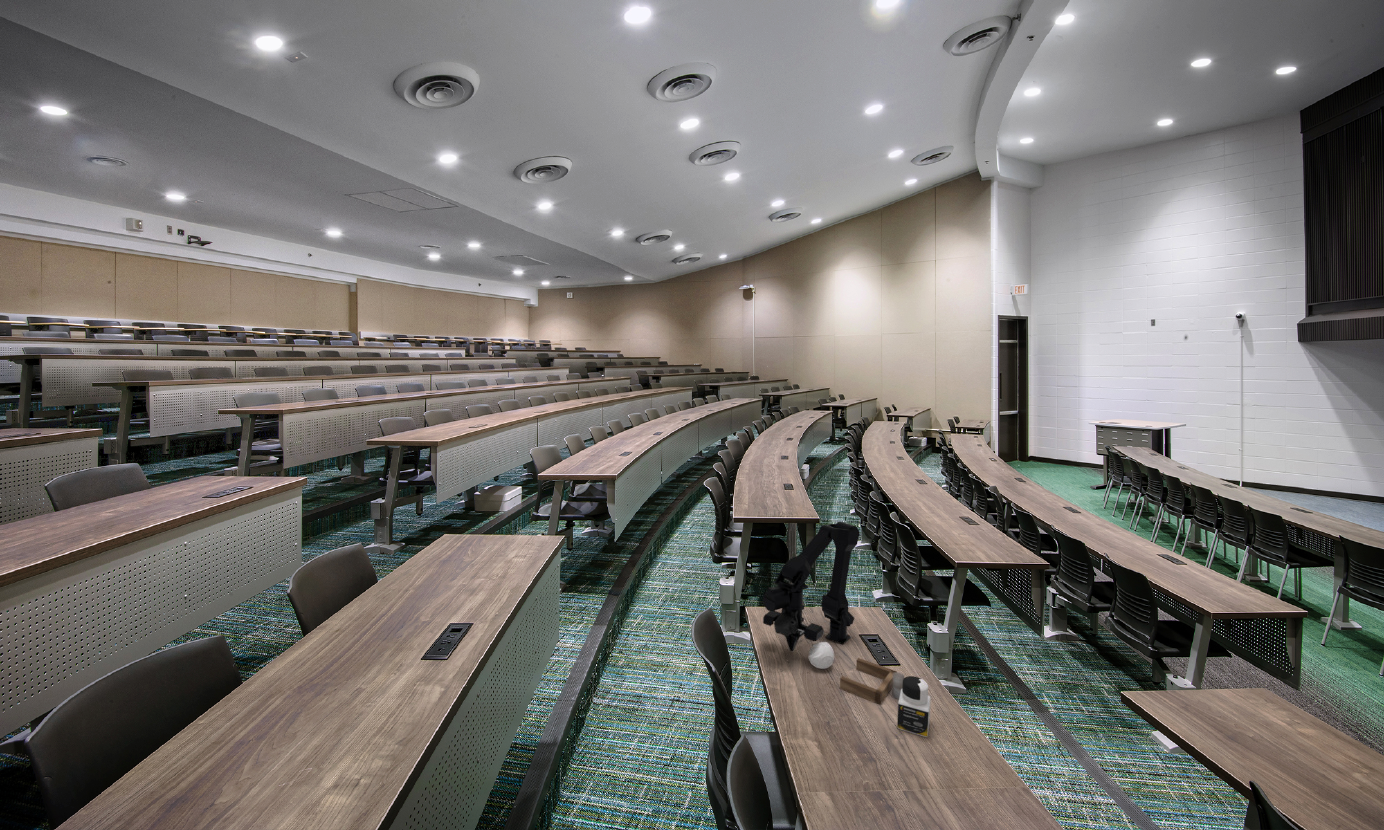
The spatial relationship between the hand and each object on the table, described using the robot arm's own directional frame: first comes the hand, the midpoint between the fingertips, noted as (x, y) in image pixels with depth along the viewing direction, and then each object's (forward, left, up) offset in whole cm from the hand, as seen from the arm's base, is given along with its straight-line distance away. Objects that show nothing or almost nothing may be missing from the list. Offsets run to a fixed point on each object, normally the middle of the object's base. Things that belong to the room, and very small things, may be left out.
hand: (791, 650), depth 168 cm
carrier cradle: (0, +27, -2) cm, 27 cm away
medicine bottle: (+10, +40, -2) cm, 41 cm away
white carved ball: (0, +10, -2) cm, 10 cm away
